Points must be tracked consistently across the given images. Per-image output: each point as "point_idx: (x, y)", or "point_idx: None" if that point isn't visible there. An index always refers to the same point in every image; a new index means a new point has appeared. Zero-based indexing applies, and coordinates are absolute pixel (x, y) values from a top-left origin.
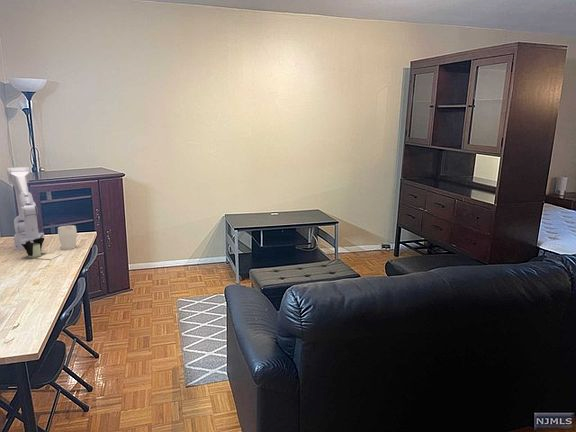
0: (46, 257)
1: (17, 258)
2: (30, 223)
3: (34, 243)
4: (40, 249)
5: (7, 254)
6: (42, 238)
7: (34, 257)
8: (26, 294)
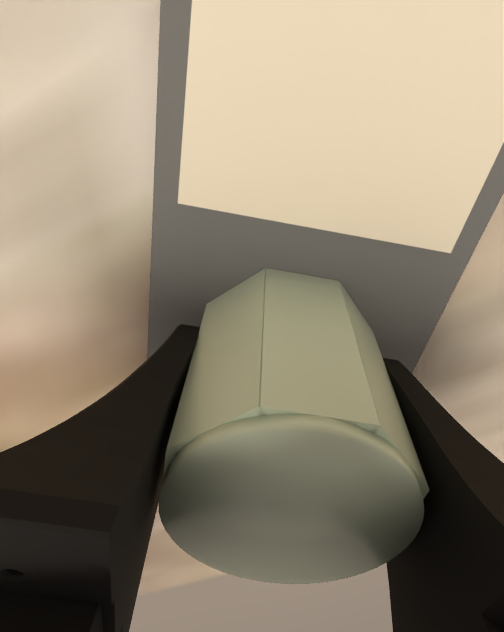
0: (445, 86)
1: None
2: None
3: (199, 528)
4: (189, 346)
5: (203, 565)
6: (25, 544)
7: (369, 316)
8: None
